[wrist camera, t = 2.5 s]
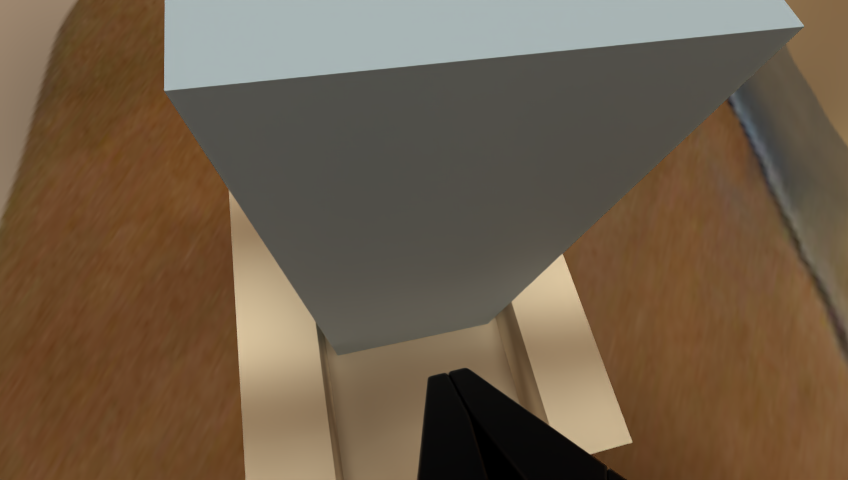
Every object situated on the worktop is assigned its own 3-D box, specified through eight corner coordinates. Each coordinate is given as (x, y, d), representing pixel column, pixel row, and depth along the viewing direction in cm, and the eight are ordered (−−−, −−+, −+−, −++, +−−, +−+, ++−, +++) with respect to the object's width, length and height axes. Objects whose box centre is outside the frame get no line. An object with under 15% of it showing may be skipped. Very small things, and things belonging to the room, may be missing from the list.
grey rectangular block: (487, 323, 17) (804, 26, 4) (337, 355, 16) (164, 90, 3) (451, 194, 19) (588, -257, 6) (317, 215, 18) (167, -270, 5)
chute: (590, 439, 16) (632, 442, 14) (274, 524, 14) (249, 548, 12) (465, 67, 23) (475, 19, 21) (241, 90, 21) (220, 41, 19)
